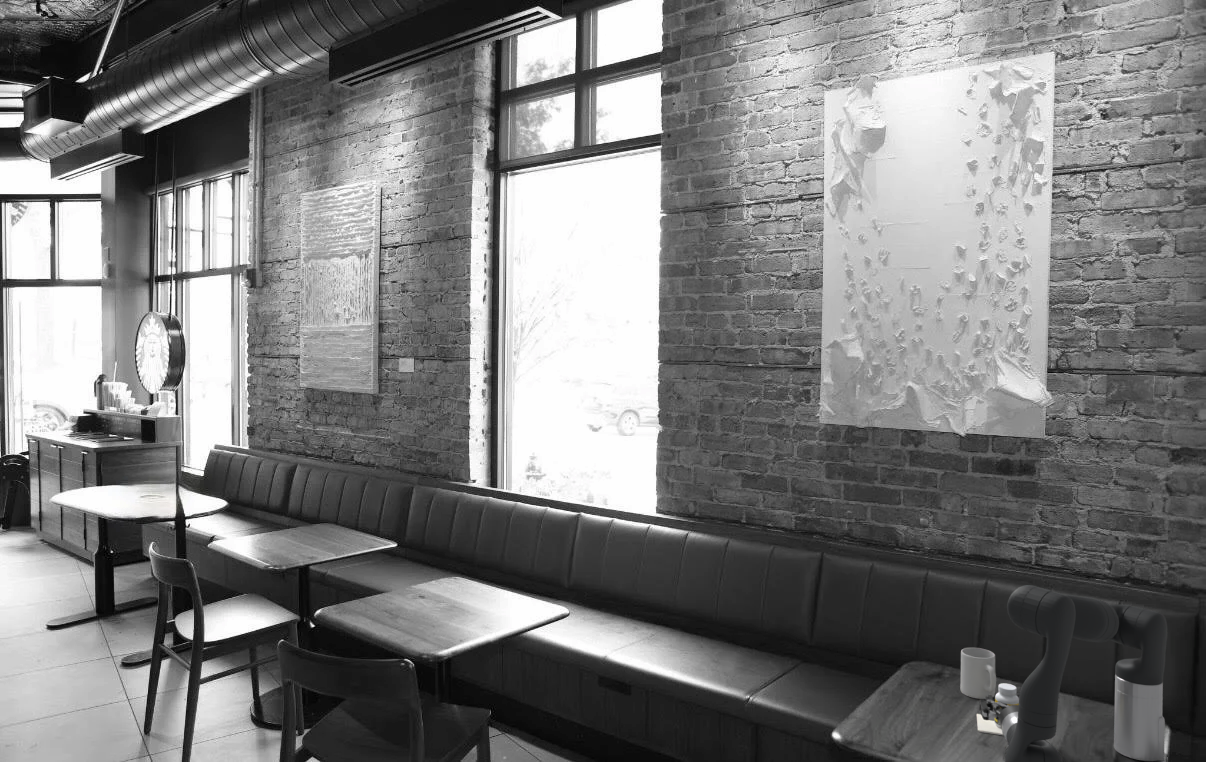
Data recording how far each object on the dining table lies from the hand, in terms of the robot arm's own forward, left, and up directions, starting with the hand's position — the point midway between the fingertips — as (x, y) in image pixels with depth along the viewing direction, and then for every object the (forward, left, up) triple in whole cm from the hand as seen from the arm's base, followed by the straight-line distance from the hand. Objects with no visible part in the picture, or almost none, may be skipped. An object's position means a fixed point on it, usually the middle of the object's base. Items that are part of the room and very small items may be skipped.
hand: (1008, 700), depth 203 cm
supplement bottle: (0, -3, -8) cm, 8 cm away
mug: (+5, -22, -8) cm, 24 cm away
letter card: (0, -3, -8) cm, 9 cm away
